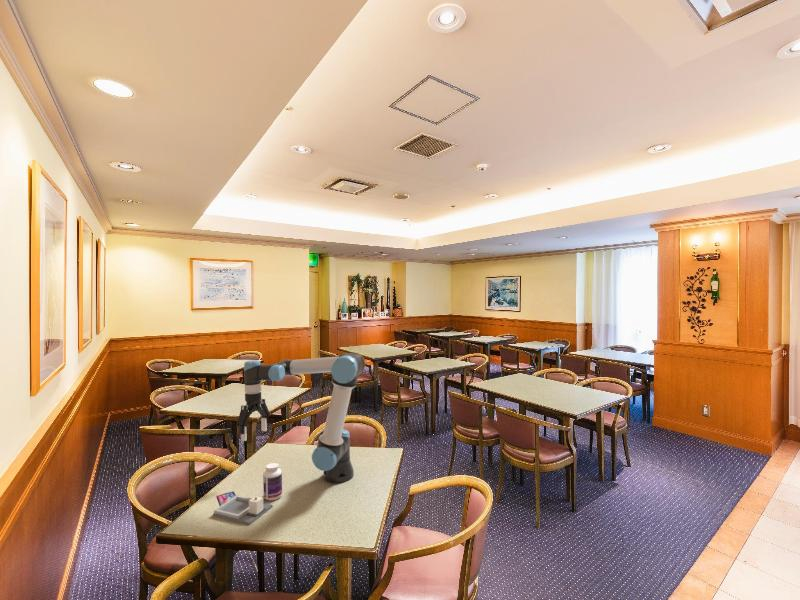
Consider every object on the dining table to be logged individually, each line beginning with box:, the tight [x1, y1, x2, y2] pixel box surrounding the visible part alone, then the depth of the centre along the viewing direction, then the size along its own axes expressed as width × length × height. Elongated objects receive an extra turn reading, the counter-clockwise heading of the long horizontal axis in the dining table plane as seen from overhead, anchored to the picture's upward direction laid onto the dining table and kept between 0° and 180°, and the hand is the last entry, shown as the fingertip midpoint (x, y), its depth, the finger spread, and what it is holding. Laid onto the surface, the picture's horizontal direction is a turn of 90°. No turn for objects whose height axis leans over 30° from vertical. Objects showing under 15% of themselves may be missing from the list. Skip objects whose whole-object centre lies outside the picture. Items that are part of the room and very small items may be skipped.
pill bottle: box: [262, 462, 283, 501], centre depth 175 cm, size 8×8×14 cm
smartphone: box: [216, 491, 237, 507], centre depth 173 cm, size 8×1×15 cm
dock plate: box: [212, 495, 274, 526], centre depth 163 cm, size 19×14×7 cm
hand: (254, 435), depth 189 cm, fingers open, 13 cm apart
